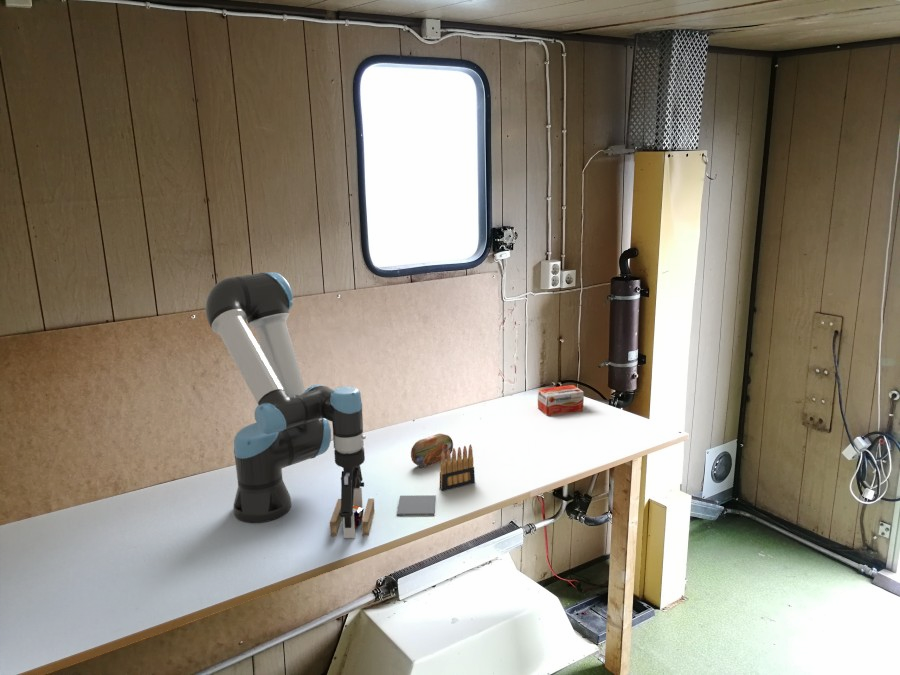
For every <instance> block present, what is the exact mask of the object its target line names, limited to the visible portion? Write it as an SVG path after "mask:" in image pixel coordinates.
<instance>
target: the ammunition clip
mask: <svg viewBox="0 0 900 675" xmlns="http://www.w3.org/2000/svg"><path fill="white" fill-rule="evenodd" d="M475 483H476V477H475V466H474V453H473V447H472V444H469V446H468V451H467V446H466V445H464V446H463V449H461V447H458V448H457V452H456V449H455V447H453V449H452V452H451V454H450V451H449V449H448V451H447V458H446V460H445V453H444V451H442V454H441V462H440V472H439V489H440V490H441V491H442V492H445V491H448V490H453V489H456V488H461V487H466V486H469V485H473V484H475Z"/></svg>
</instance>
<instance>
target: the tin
mask: <svg viewBox="0 0 900 675" xmlns="http://www.w3.org/2000/svg"><path fill="white" fill-rule="evenodd" d="M453 448H454V442H453V439H452V438H451V437H450V435H448V434H444V433H437V434H434V435H431V436H428V437H424V438H423V439H419V440H418V441H416V442H415V443H413V446H412V447H411V450H410V457H411V461H412V463H413V464H415V465H416V466H418V467H419V468H427V467H430V466H432V465H435V464H438V463H441V454H442V451H444V453H445V461H446V458H447V451H448V449H449V451H450V455H452V451H453Z"/></svg>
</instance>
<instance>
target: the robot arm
mask: <svg viewBox="0 0 900 675" xmlns="http://www.w3.org/2000/svg"><path fill="white" fill-rule="evenodd" d="M292 291H293V290H292V288H291V286H290V284H289V282H288V281H287V279H286V278H285V277H284V276H283V275H281V274H280V273H278V272H273V271H272V272H260V273H252V274H246V275H241V276H231V277H230V276H229V277H227V278H223V279H222V280H220V281H218V282H217V283H215V284H214V285H213V287H212V288H211V290H210V291H209V294H208V295H207V297H206V298H207V299H206V302H205V315H206V316H205V317H206V320H207V321H208V325H209V327H210V328H211V330H212V332H213V333H215V334H216V335H219V336H220V338H221V340H222V342H223V344H224V345H225V347H226V349H227V351H228V353H229V354H230V357H231V358H232V360H233V362H234V364H235V365H236V368H237V369H238V371H239V372H240V375H241V376H242V378H243V379H244V383H246V385H247V387H248V389H249V390H250V392H251V394H252V396H253V398H254V400H255V401H256V404H257V406H256V407H255V409H254V420H255V422H254V423H252V424H249V425H246V426H244V427H243V428H241V429H239V431H238V432H237V433H236V434H235V436H234V439H233V455H234V460H235V462H234V463H235V468H236V469H235V470H236V478H237V489H236V492H235V497H234V500H233V501H234V502H233V514H234V517H235V518H236V519H237V520H239V521H242V522H245V523H266V522H270V521H273V520H276V519H279V518H280V517H283V516H284V515H285V514H287V513H288V512H289V511H290V510H291V508H292V498H291V495H290V492H289V491H288V488H287V486H286V484H285V482H284V480H283V470H282V469H283V468H286V467H289V466H292V465H296V464H298V463H301V462H304V461H307V460H311V459H315V458H316V457H318V456H320V455H322V454H325V453H326V452H327V451H328V450H329V448H330V445H331V441H332V440H333V441H332V442H333V449H334V450H333V451H334V463H335V464H336V466H337V467H339V468H340V467H341V468H342V469H343V470H342V471H341V477H340V481H341V482H340V485H341V489H340V493H341V494H340V499H341V513H339V516H341V517H343V518H342V529H343V538H344V539H355V538H356V527H355V525H354V513H353V505H355V506H358V507H361V508H364V505H363V491H362V490H363V488H364V487H365V482H364V481H363V475H362V470H361V469H362V468H361V465H362V464H364V462H365V459H366V458H365V457H366V456H365V447H364V442H365V441H364V440H366V438H367V437H366V435H365V434H364V424H363V423H364V420H363V417H364V416H363V402H362V394H361V391H360V390H359V389H358V387H354V386H348V385H347V386H340V387H337V388H334V389H332V388H330V387H328V386H324V385H322V384H313V385H311V386H309V387H308V388H307V389H306V388H305V384H304V381H303V376H302V374H301V371H300V367H299V363H298V359H297V355H296V352H295V349H294V344H293V341H292V339H291V335H290V332H289V328H288V325H287V320H288V319H289V316H290V312H289V311H290V310H291V309H292V308H293V304H294V301H293V298H294V295H293V292H292ZM249 326H250V327H251V328H253V329H254V330H255V332H256V335H257V338H256V336H254V334H253V331H252V330H251V328H250V327H249ZM257 339H258V340H257ZM330 422H332V424H330ZM331 425H332V427H331Z"/></svg>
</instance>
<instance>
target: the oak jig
mask: <svg viewBox="0 0 900 675" xmlns="http://www.w3.org/2000/svg"><path fill="white" fill-rule="evenodd" d="M364 509H365V510H364V511H363V519H362V522H361V529H362V536H363V537H368V536H369V535H370V532H371V529H372V528H371V527H372V523H373V519H374V517H375V516H374V515H375V499H374V498H368V499H367V502H366V506H365V508H364ZM339 513H341V498H338V499H337V501H336V503H335V507H334V510H333V512H332V515H331V517H330V520H329V530H330V531H329V532H330V537H338V534H339V531H340V526H341V525H342V522H343V518H342V517H341V516H339Z"/></svg>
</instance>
